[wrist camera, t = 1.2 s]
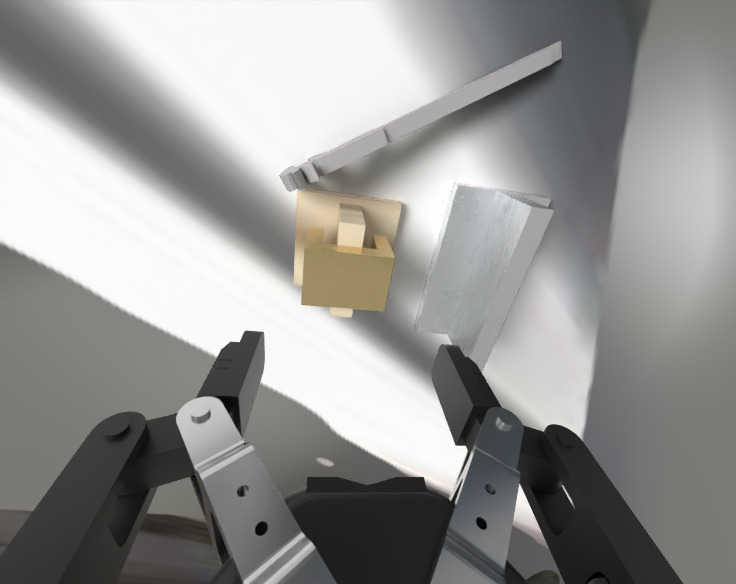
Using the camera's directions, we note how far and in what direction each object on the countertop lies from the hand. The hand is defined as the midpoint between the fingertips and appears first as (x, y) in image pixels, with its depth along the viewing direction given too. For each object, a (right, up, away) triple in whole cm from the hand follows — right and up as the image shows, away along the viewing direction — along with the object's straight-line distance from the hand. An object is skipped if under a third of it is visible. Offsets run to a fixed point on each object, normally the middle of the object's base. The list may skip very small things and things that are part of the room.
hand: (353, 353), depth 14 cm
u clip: (-1, +5, +9) cm, 11 cm away
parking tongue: (-1, +7, +12) cm, 14 cm away
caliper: (+4, +16, +8) cm, 18 cm away
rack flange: (+10, +5, +14) cm, 18 cm away
